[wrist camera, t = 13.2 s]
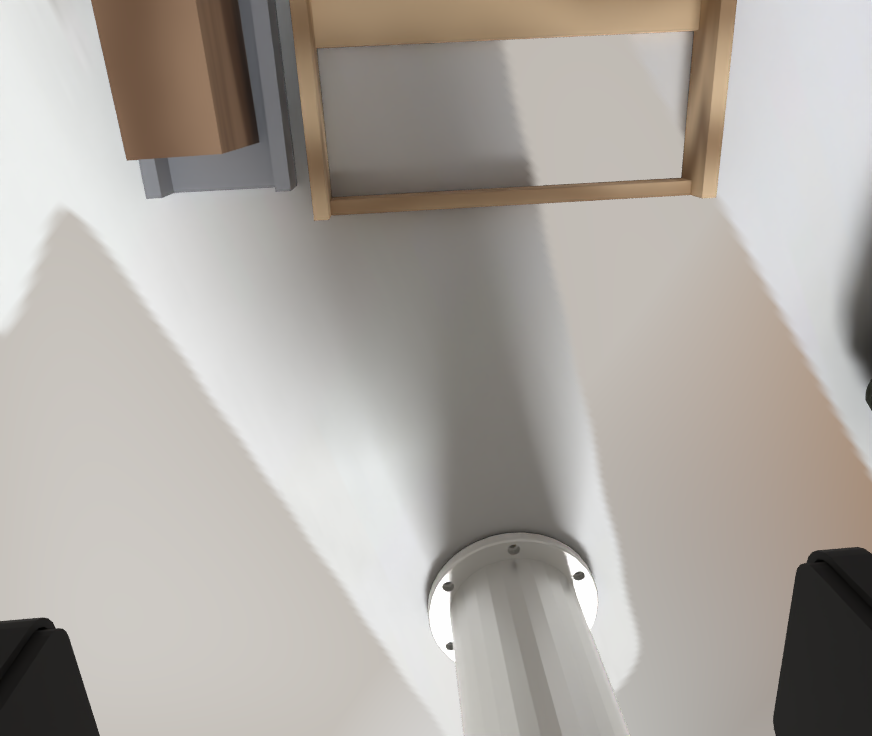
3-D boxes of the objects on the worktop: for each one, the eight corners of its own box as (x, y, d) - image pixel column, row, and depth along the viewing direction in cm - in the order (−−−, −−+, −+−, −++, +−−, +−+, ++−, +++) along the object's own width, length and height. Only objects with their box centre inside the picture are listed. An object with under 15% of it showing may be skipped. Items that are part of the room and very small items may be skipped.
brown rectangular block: (220, -118, 33) (161, -195, 24) (259, 142, 37) (221, 154, 29) (136, -114, 32) (49, -189, 24) (186, 147, 37) (126, 160, 28)
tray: (693, 190, 40) (716, 197, 37) (319, 212, 39) (314, 220, 36) (728, -191, 33) (760, -218, 30) (276, -176, 32) (266, -203, 29)
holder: (297, 185, 38) (290, 190, 36) (162, 192, 38) (146, 198, 36) (253, -181, 32) (241, -205, 30) (91, -176, 32) (66, -199, 29)
